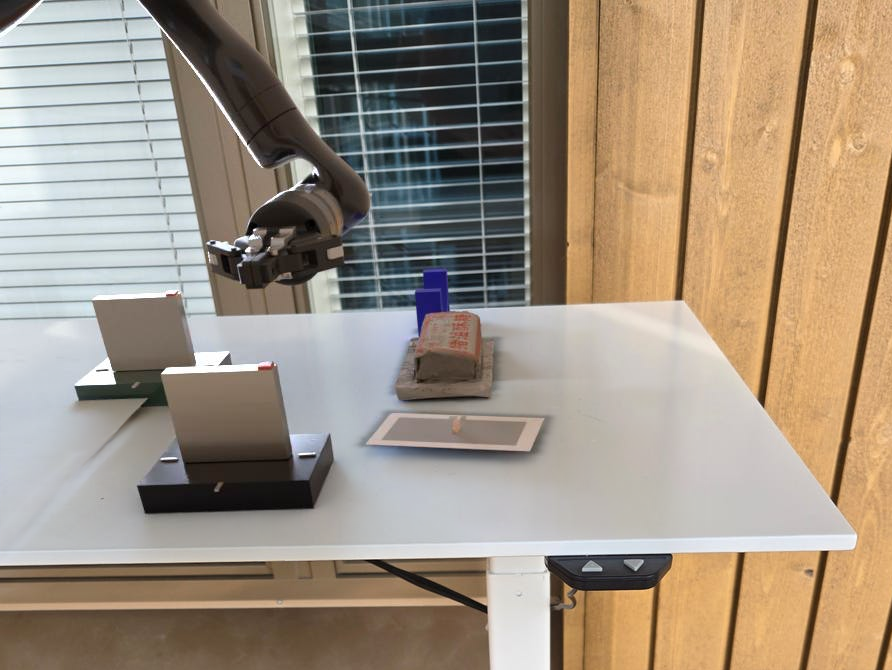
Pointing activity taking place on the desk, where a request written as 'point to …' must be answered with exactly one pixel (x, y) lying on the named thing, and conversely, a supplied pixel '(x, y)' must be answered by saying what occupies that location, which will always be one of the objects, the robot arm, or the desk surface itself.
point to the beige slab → (145, 331)
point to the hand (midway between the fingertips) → (252, 276)
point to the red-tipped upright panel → (228, 412)
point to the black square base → (239, 480)
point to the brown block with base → (447, 359)
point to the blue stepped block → (432, 295)
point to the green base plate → (136, 381)
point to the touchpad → (458, 431)
